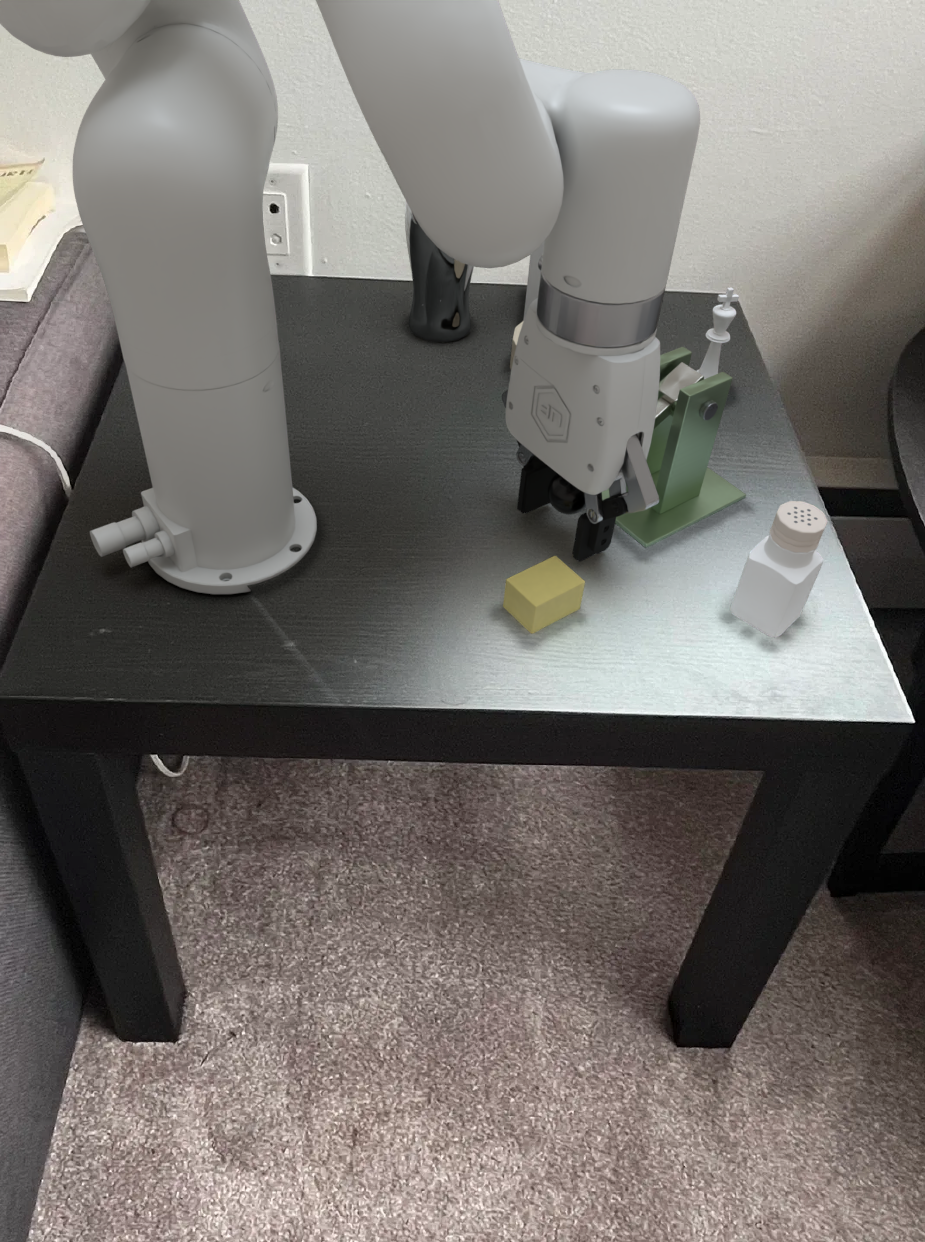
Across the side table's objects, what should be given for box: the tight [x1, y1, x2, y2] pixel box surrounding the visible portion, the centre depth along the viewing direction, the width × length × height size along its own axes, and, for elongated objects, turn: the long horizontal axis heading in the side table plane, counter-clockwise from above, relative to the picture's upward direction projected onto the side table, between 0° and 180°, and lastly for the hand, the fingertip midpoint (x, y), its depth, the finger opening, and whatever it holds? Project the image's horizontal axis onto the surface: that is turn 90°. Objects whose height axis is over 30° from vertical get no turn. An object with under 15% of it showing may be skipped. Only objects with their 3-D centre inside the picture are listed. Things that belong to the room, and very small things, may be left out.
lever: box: [548, 362, 704, 516], centre depth 71 cm, size 14×3×3 cm, turn 127°
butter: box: [502, 555, 586, 635], centre depth 67 cm, size 4×3×4 cm
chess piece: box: [695, 287, 740, 379], centre depth 86 cm, size 5×5×10 cm
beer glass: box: [404, 200, 475, 343], centre depth 90 cm, size 7×7×15 cm
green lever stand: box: [602, 346, 747, 549], centre depth 74 cm, size 11×9×12 cm
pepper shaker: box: [728, 500, 829, 639], centre depth 66 cm, size 4×4×10 cm
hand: (562, 527), depth 73 cm, fingers open, 5 cm apart
